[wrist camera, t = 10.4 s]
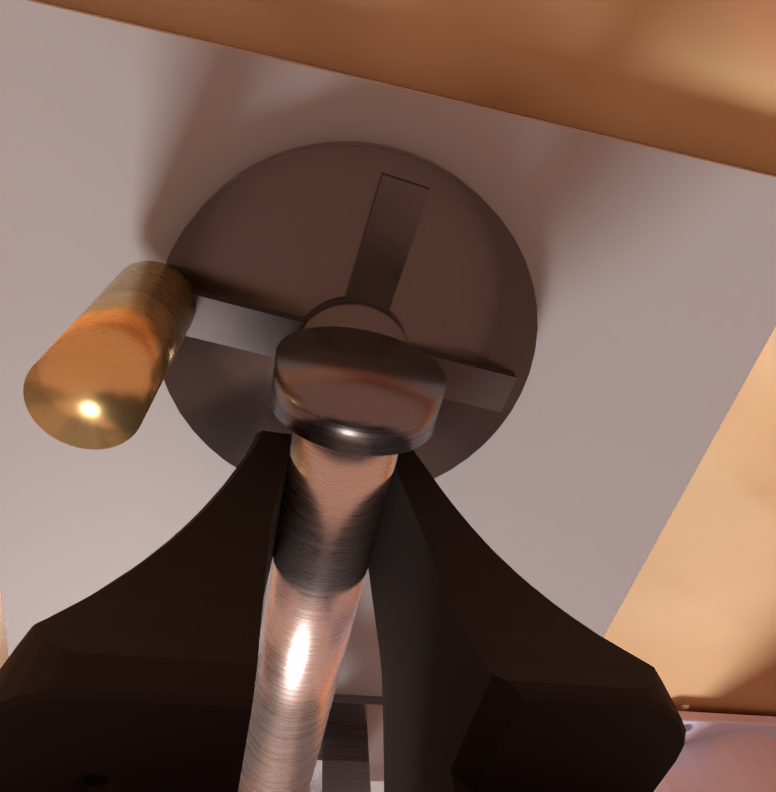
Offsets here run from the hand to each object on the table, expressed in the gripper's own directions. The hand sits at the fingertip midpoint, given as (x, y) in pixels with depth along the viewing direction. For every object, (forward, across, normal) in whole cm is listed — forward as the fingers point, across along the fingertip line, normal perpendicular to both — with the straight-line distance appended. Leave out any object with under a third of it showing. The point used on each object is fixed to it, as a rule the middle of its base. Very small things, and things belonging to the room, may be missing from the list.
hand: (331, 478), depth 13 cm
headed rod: (0, 0, +4) cm, 4 cm away
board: (+3, -1, +4) cm, 6 cm away
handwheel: (+2, 0, -3) cm, 3 cm away
